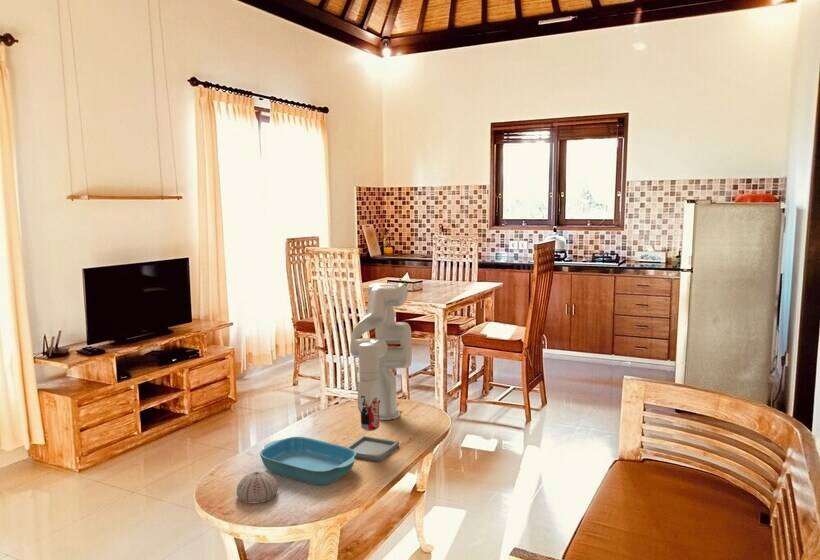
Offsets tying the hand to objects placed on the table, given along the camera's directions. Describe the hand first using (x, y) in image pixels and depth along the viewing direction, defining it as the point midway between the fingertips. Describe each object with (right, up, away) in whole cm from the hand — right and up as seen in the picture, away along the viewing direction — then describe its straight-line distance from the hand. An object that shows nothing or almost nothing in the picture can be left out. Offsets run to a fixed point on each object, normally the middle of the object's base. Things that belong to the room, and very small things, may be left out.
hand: (370, 420), depth 227 cm
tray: (0, -12, +2) cm, 12 cm away
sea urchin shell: (-34, -17, -34) cm, 51 cm away
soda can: (0, -3, 0) cm, 3 cm away
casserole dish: (-21, -15, -15) cm, 30 cm away
